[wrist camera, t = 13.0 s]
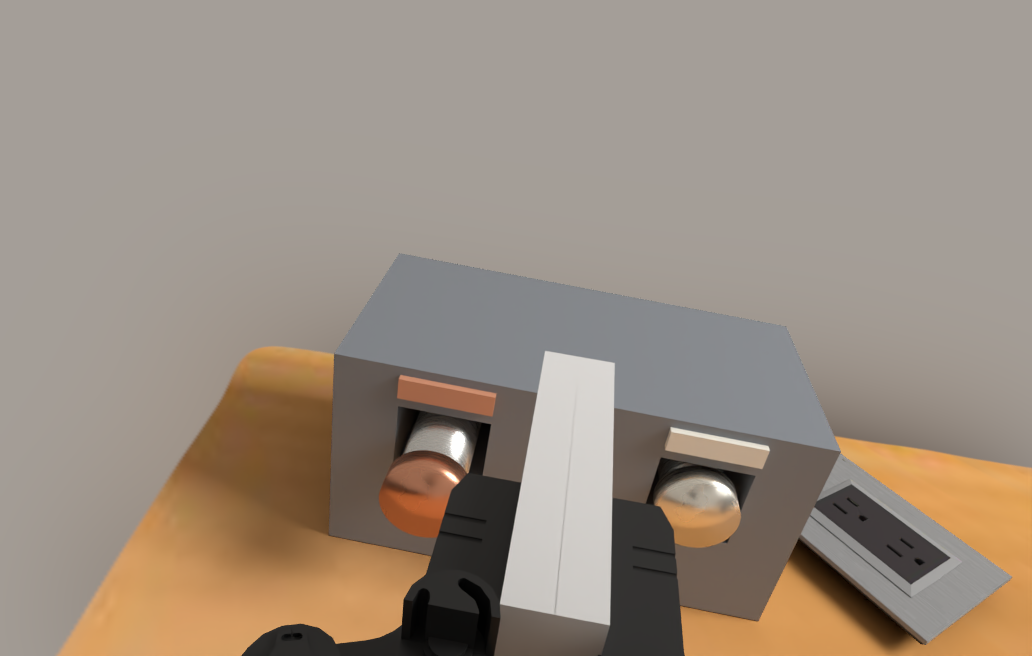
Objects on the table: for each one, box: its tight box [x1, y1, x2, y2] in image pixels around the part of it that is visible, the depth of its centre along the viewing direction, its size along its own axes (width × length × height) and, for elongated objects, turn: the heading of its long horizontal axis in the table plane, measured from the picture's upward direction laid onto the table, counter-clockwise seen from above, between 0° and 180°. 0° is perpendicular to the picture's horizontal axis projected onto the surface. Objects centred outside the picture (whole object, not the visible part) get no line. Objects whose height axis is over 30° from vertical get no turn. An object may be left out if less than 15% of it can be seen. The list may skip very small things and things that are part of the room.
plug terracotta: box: [379, 410, 482, 538], centre depth 40 cm, size 12×4×4 cm, turn 173°
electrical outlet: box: [799, 454, 1012, 645], centre depth 49 cm, size 13×10×2 cm
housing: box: [329, 254, 841, 621], centre depth 45 cm, size 13×26×13 cm, turn 83°
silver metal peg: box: [653, 457, 741, 548], centre depth 43 cm, size 12×4×4 cm, turn 173°
